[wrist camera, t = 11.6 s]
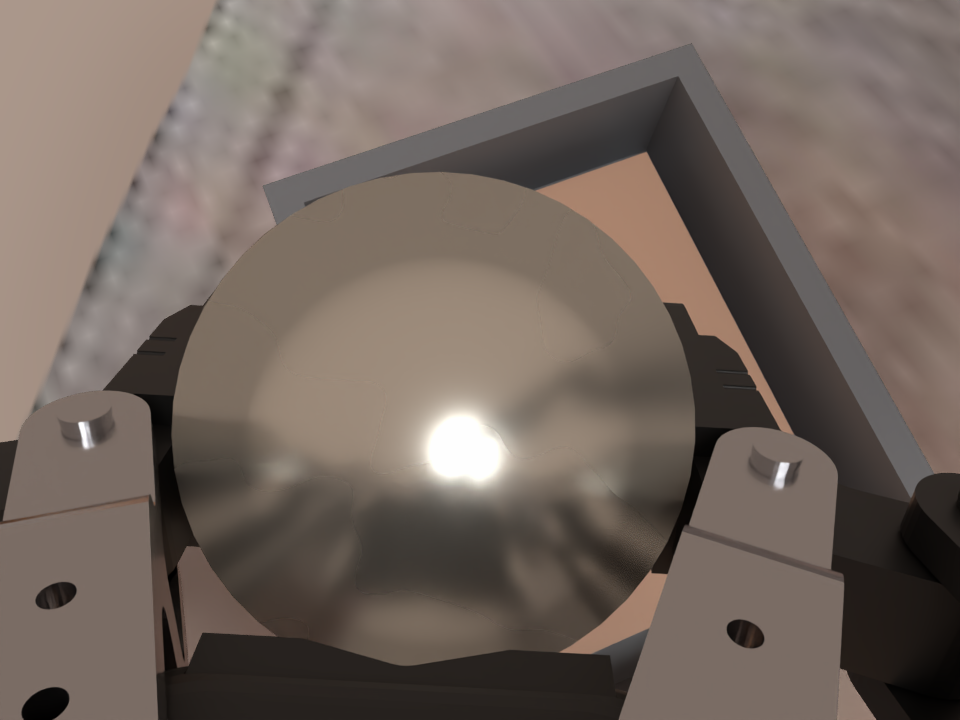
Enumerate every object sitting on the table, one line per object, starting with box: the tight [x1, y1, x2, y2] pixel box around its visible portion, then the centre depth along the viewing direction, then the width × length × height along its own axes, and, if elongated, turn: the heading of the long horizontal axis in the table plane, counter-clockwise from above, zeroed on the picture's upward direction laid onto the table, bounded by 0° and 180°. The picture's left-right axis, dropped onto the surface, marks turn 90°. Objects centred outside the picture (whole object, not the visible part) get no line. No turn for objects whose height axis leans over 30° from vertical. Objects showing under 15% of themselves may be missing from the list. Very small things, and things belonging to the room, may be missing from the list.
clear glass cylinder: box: [172, 172, 695, 666], centre depth 12 cm, size 6×6×8 cm
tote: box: [263, 43, 934, 693], centre depth 25 cm, size 15×19×6 cm
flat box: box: [536, 152, 794, 654], centre depth 26 cm, size 10×14×3 cm
